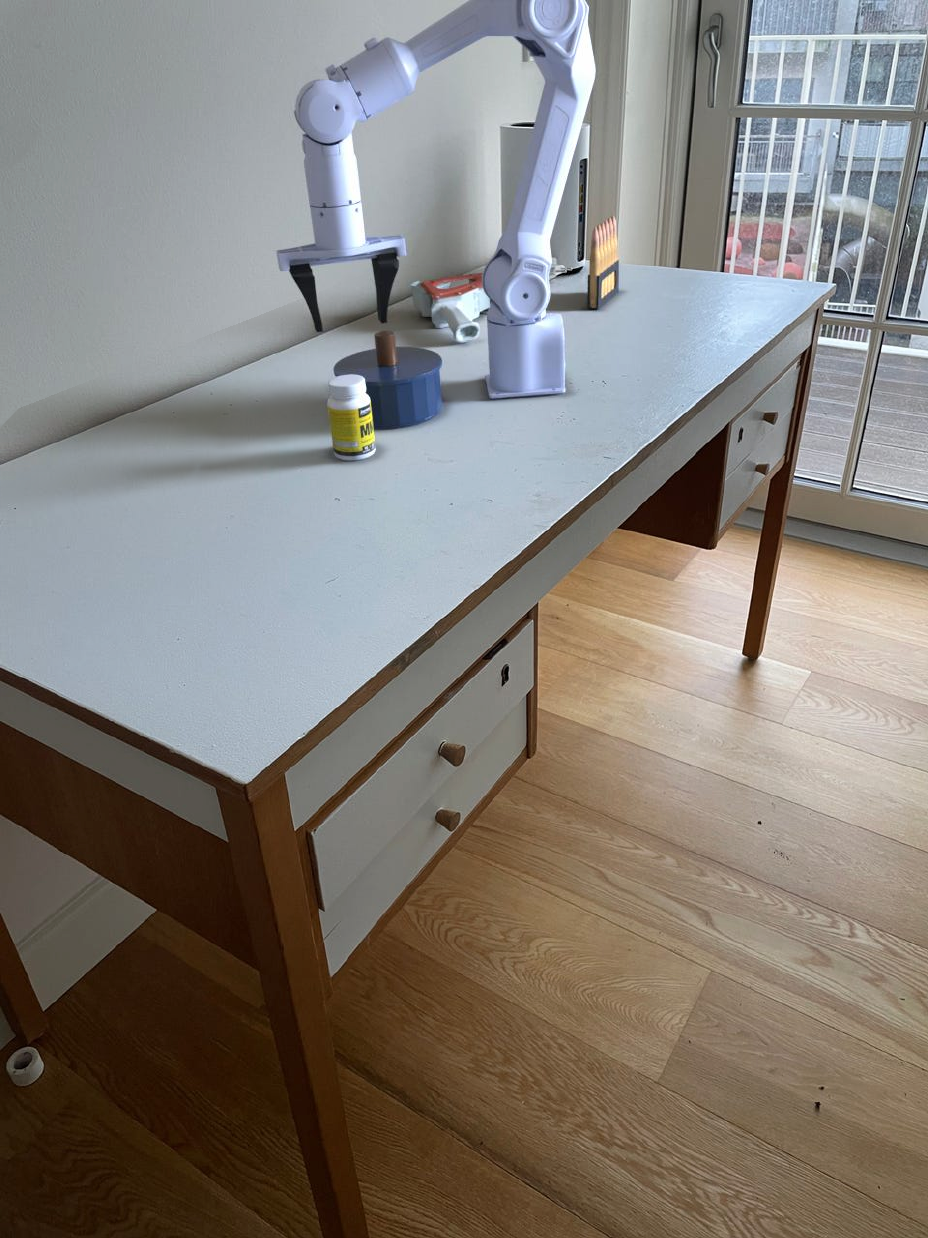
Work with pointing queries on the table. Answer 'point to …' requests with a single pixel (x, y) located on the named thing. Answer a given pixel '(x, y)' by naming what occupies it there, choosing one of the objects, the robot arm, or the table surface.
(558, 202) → the robot arm
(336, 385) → the supplement bottle
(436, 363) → the tin lid
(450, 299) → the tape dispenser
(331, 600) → the table surface
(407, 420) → the tin
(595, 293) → the ammunition clip
